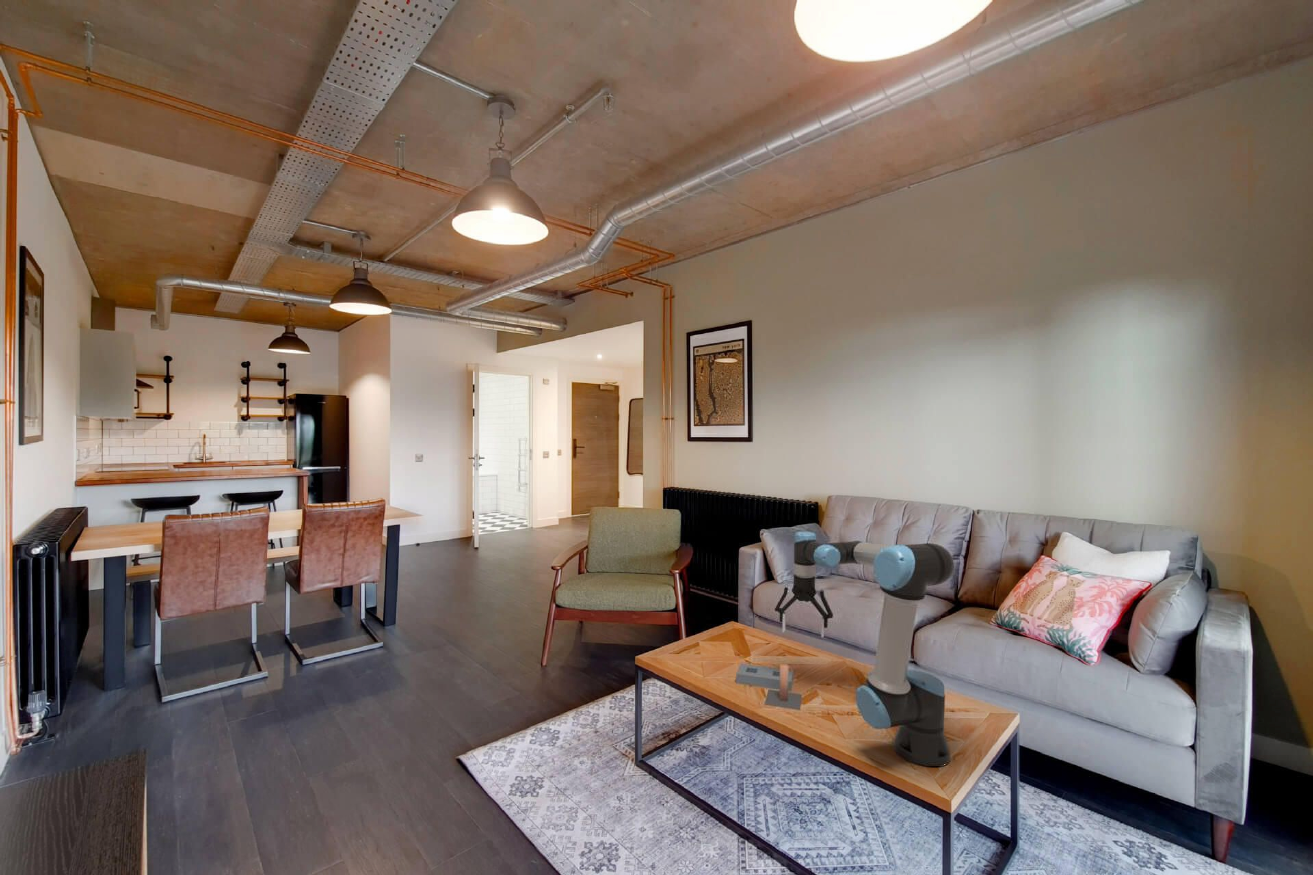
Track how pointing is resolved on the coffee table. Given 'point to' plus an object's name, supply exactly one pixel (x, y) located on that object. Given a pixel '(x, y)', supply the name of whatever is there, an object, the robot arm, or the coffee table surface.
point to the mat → (774, 700)
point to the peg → (783, 682)
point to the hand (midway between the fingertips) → (803, 633)
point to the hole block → (761, 676)
